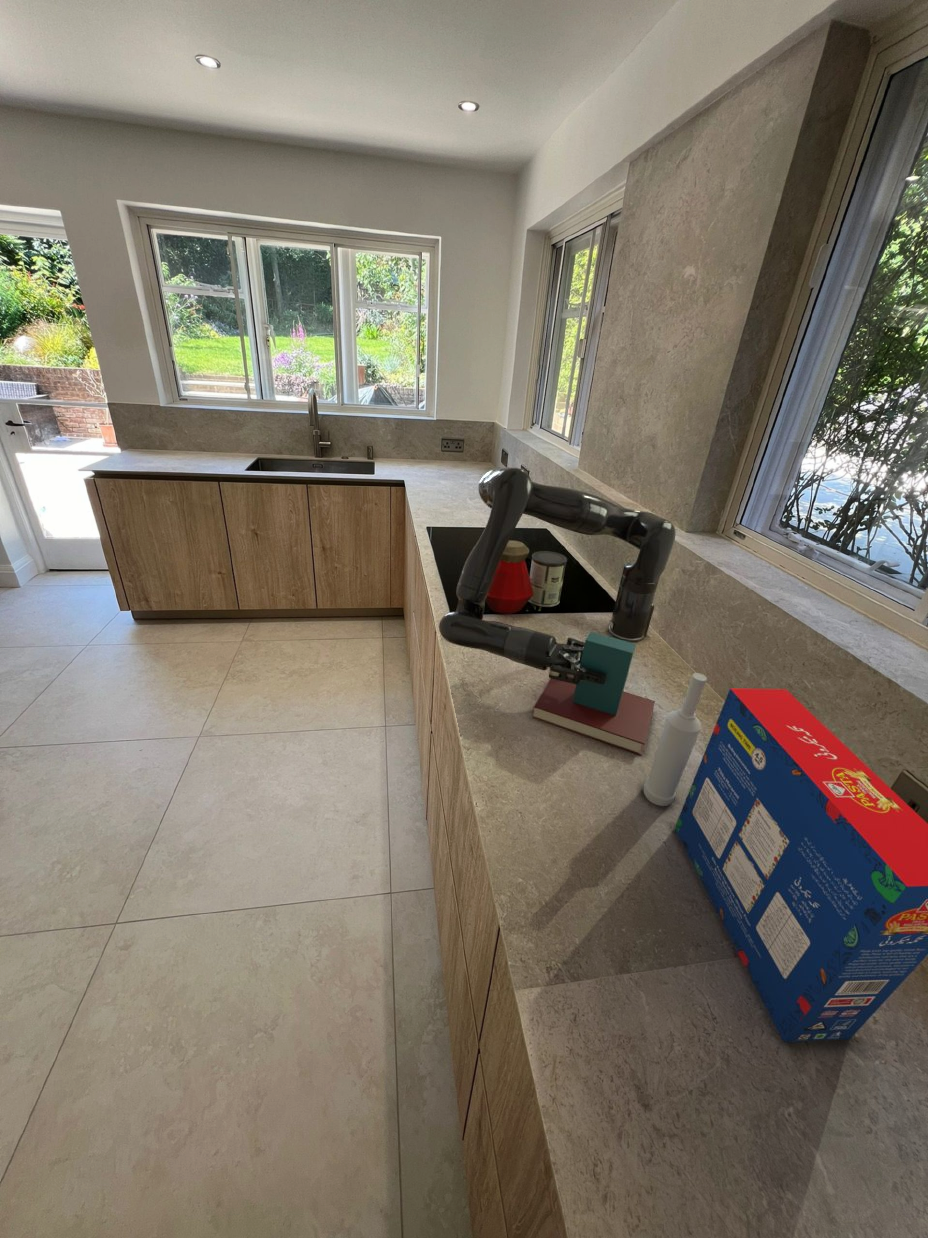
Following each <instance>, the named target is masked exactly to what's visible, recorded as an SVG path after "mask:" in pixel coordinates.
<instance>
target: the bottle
mask: <svg viewBox="0 0 928 1238" xmlns="http://www.w3.org/2000/svg"><path fill="white" fill-rule="evenodd" d="M707 681H708V678H707V676H706V675H704V674H703V673H699V672H694V673H692V676H691V678H690V681H689V684H688V688H687V691H686V694H685V697H684V699H683V702H682V705H681V707H679V708H678V709H677V710H672V711H670V712H668V713H667V715H666V717H665V722H664V725H663V728H662V732H661V735H660V739H659V740H658V741H659V742H658V745H657V749H656V751H655V755H654V758H653V762H652V765H651V769H650V771H649V775H648V778H646V780H645V782H644V786H643V793H644V796H645V798H646V799H647V800H648V801H649V802H650V803H652V804H654V805H656V806H660V807H667V806H670V805H671V804H672V803H673V802H674V801H675V798H676V795H677V791H676V790H677V788H678V786H679V784H680V781H681V778H682V777H683V773H684V771H685V768H686V766H687V764H688V762H689V759H690V757H691V754H692V752H693V749H694V747H695V744H696V743H697V741H698V737H699V734H700V732H701V730H702V726H703V725H702V724H701V721H700V720H699V718H697V714H696V710H697V706H698V704H699V701H700V698H701V696H702V693H703V691H704V689H705V686H706V683H707Z"/></svg>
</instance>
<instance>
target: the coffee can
mask: <svg viewBox="0 0 928 1238" xmlns="http://www.w3.org/2000/svg"><path fill="white" fill-rule="evenodd" d="M567 562H568V558H567V557H566V556H565V555H564V554H562V553H559V552H555V551H549V550H539V551H534V552H533V553H532V554H531V565H530V571H529V577H530V581H531V584H532V588H533V596H532V597H531V598H530V599H529V601H528V603H530V604H532V605H535V606H538V607H543V608H552V607H556V606H557V605H559V604H560V601H561V596H562V595H561V594H562V589H563V583H564V578H565V577H564V576H565V571H566V567H567Z"/></svg>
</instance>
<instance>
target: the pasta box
mask: <svg viewBox="0 0 928 1238" xmlns="http://www.w3.org/2000/svg"><path fill="white" fill-rule="evenodd" d="M714 725H715V726H714V728H713V730H712V733H711V734H710V735H711V736H710V738H709V741H708V743H707V746H706V747H705V751H704V753H703V755H702V758H701V761H700V763H699V766H698V768H697V771H696V773H695V776H694V778H693V781H692V784H691V786H690V788H689V791H688V793H687V795H686V798H685V801H684V804H683V806H682V808H681V811H680V813H679V816H678V818H677V821H676V824H675V827H674V831H675V833H676V835H677V837H678V839H679V841H680V843H681V845H682V847H683V848H684V851H685V852H686V855H687V856H688V859H689V860H690V863H691V864H692V866H693V868H694V870H695V872H696V875H697V876H698V878H699V880H700V883H701V884H702V886H703V888H704V890H705V891H706V893H707V896H708V897H709V899H710V902H711V903H712V905H713V908H714V909H715V911H716V913H717V915H718V917H719V919H720V922H721V923H722V925H723V927H724V929H725V931H726V932H727V934H728V937H729V938H730V940H731V943H732V945H733V946H734V948H735V950H736V952H737V954H738V956H739V958H740V960H741V962H742V963H743V965H744V968H745V970H746V972H747V974H748V975H749V977H750V979H751V981H752V984H753V985H754V987H755V989H756V991H757V993H758V995H759V997H760V999H761V1001H762V1003H763V1005H764V1007H765V1008H766V1011H767V1012H768V1014H769V1016H770V1018H771V1020H772V1022H773V1024H774V1026H775V1028H776V1031H777V1032H778V1034H779V1036H780V1038H781V1040H782V1042H783V1043H792V1042H795V1043H796V1042H814V1041H833V1040H834V1041H835V1040H851V1039H852V1038H853V1037H854V1035H855V1034H856V1033H858V1031H859V1030H860V1029H861V1028H862V1027H863V1026H864V1025H865V1023H866V1022H868V1021H869V1019H870V1018H871V1017H872V1016H873V1015H874V1014H875V1013H876V1012H877V1011H878V1010H879V1008H880V1007H881V1006H882V1005H883V1004H884V1003H885V1002H886V1001H887V1000H888V999H889V997H890V996H892V994H893V993H894V992H895V991H896V990H897V989H898V988H899V986H900V985H901V984H903V982H904V981H905V980H906V979H907V978H908V977H909V976H910V974H911V973H912V972H913V971H914V970H915V969H916V968H917V967H918V966H919V965H920V964H921V963H922V962H923V960H924V959H925V958H927V956H928V822H927V821H925V819H923V818H922V817H921V816H920V814H918V812H916V811H915V810H914V809H913V808H912V807H910V806H909V805H908V804H907V803H906V802H905V801H904V799H902V798H901V797H900V796H899V795H898V794H897V793H896V792H895V791H894V790H893V789H891V787H890V786H889V785H888V784H886V783H885V782H884V781H883V780H882V779H881V778H880V777H879V776H878V775H877V774H876V773H875V772H874V771H872V769H870V768H869V766H868V765H866V763H864V762H863V760H861V759H860V757H858V756H857V755H856V754H855V753H854V752H853V751H852V750H851V749H849V748H848V747H847V746H846V745H845V744H844V742H842V740H840V739H839V738H838V737H837V736H836V735H834V734H833V732H831V730H829V729H828V728H827V727H826V726H825V725H824V724H823V723H822V722H821V721H820V720H819V719H818V718H817V717H816V716H815V715H813V713H812V712H810V711H809V710H808V709H807V707H805V706H804V704H802V702H800V701H799V700H798V699H797V698H796V697H795V696H794V695H793V694H792V693H790V691H788V690H787V689H786V688H783V689H781V688H734V687H733V688H731V687H730V688H729V690H728V693H727V695H726V697H725V700H724V703H723V706H722V708H721V710H720V713H719V716H718V718H717V720H716V723H715V724H714Z"/></svg>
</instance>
